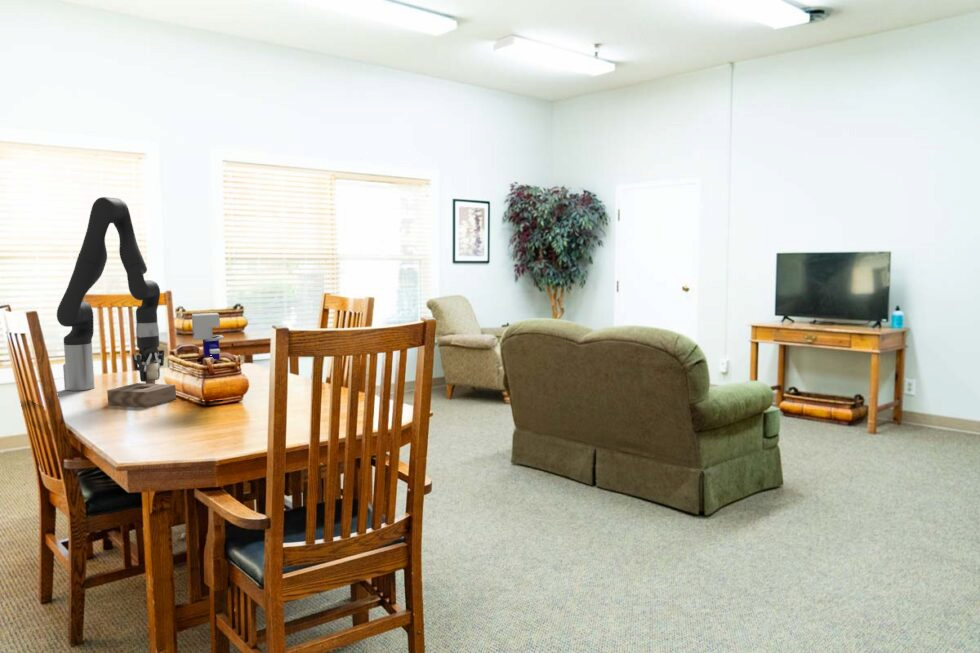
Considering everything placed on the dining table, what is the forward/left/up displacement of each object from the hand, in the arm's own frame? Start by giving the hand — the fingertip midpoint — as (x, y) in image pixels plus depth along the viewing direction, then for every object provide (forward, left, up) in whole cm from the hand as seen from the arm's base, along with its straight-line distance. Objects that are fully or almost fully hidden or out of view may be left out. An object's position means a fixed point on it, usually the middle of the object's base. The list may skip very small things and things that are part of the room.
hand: (150, 379), depth 275 cm
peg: (0, 0, -4) cm, 4 cm away
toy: (+32, -8, -5) cm, 33 cm away
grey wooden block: (+11, -17, -4) cm, 21 cm away
